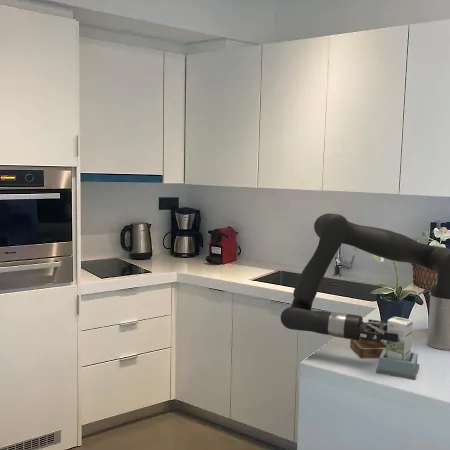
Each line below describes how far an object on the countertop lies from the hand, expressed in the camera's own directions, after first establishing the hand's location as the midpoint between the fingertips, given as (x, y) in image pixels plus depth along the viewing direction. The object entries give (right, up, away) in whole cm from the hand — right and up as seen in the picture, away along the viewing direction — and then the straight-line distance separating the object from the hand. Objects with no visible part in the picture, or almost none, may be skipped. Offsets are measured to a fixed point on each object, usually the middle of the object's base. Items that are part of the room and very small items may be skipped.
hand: (399, 334), depth 163 cm
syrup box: (0, -10, +1) cm, 10 cm away
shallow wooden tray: (-5, -9, +16) cm, 19 cm away
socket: (0, -11, +1) cm, 11 cm away
